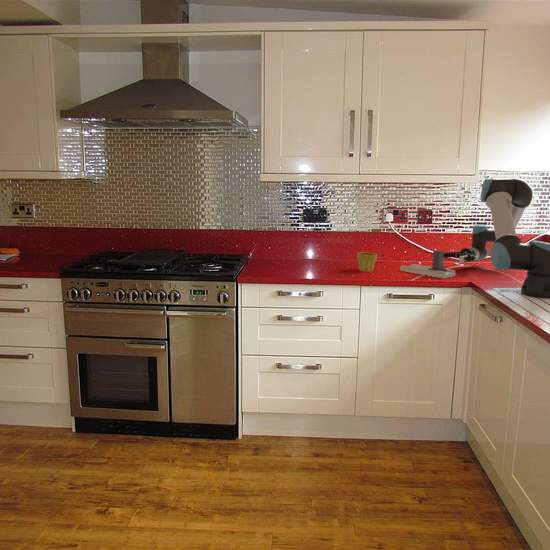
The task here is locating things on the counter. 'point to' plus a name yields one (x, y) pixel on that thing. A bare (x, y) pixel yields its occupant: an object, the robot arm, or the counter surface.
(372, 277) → the counter surface
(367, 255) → the plant pot
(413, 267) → the rail
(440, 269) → the post
